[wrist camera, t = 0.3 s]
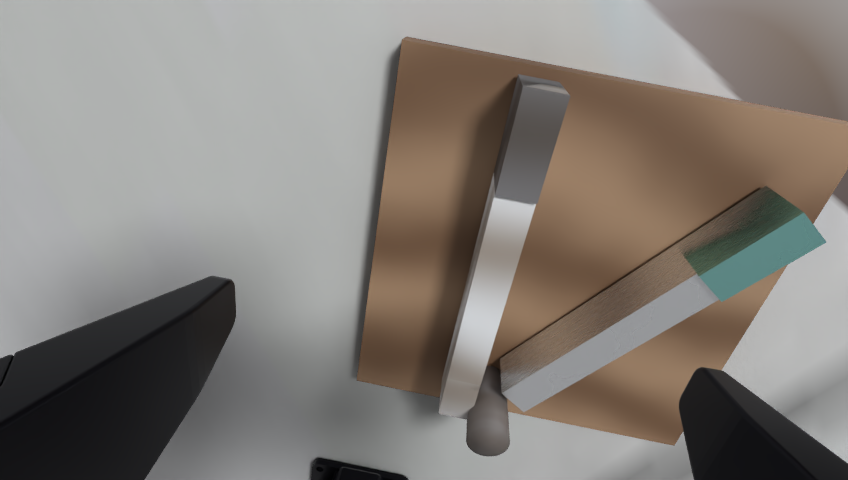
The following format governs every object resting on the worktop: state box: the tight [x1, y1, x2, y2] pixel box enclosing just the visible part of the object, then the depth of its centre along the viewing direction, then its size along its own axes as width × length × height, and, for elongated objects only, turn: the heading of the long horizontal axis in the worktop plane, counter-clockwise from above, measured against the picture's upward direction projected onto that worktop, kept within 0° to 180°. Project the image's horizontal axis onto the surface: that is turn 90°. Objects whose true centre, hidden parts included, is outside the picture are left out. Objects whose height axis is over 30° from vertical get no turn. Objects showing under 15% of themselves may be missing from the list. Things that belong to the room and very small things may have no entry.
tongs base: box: [357, 37, 848, 456], centre depth 21 cm, size 18×18×5 cm
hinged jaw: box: [500, 186, 826, 412], centre depth 21 cm, size 14×2×3 cm, turn 136°
